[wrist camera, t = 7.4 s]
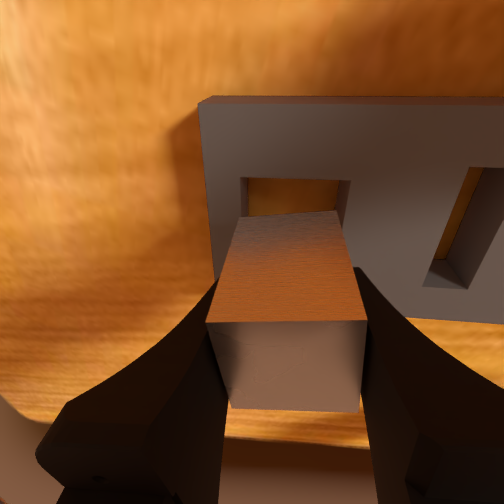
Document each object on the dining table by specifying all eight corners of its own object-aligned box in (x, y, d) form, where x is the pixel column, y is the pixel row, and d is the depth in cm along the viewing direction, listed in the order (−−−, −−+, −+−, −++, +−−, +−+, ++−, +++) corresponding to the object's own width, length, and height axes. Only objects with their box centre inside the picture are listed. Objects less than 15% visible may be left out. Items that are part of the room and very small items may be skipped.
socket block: (589, 97, 14) (653, 106, 12) (482, 292, 21) (508, 324, 18) (212, 95, 16) (197, 103, 13) (225, 275, 22) (217, 303, 20)
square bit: (336, 210, 12) (367, 320, 7) (335, 286, 14) (358, 413, 9) (239, 217, 13) (205, 322, 8) (252, 289, 15) (232, 408, 10)
